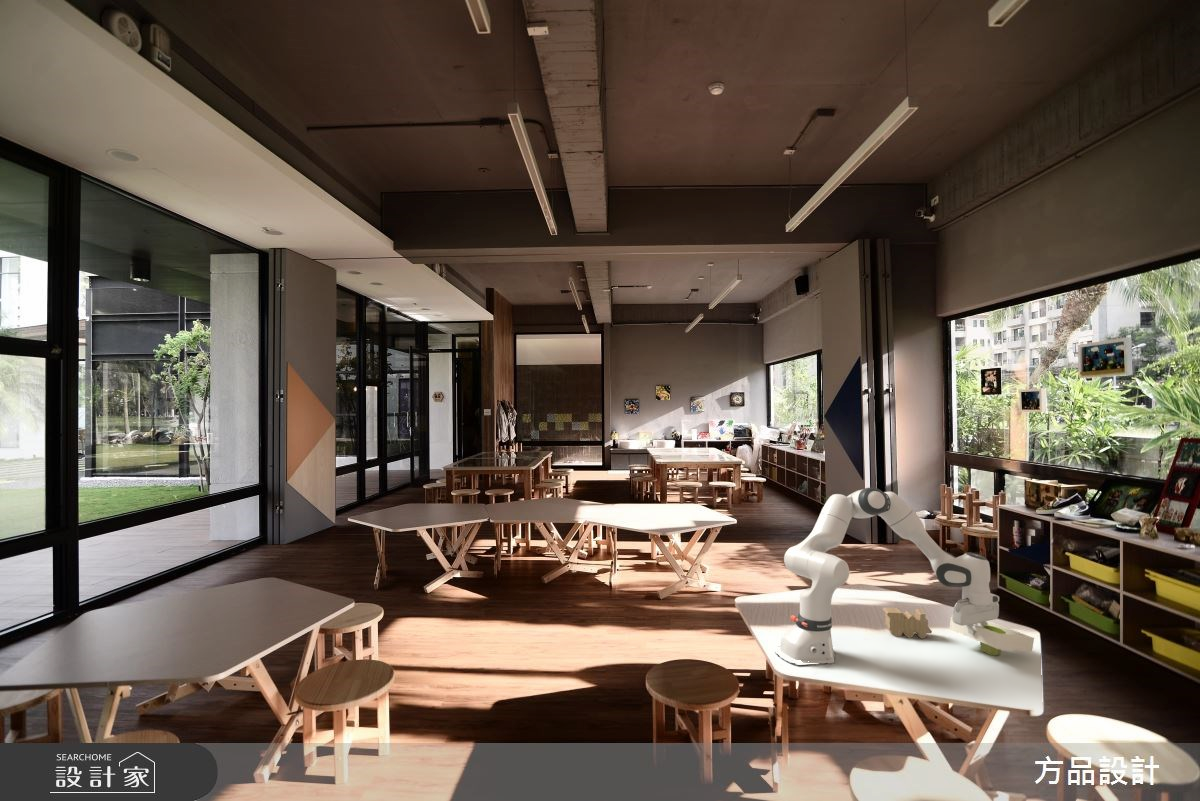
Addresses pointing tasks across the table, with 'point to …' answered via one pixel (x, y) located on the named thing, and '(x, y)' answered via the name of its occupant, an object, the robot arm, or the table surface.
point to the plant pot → (989, 649)
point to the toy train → (906, 622)
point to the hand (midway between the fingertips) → (975, 633)
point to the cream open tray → (996, 636)
